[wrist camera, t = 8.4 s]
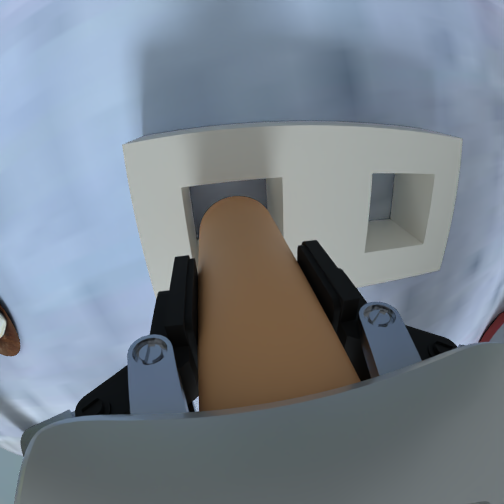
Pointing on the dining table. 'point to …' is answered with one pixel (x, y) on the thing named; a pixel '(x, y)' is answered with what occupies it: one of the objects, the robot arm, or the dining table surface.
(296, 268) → the peg
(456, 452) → the robot arm
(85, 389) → the dining table surface
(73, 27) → the dining table surface
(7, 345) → the skull
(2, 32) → the dining table surface
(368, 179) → the block
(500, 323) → the citrus juicer
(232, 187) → the dining table surface
